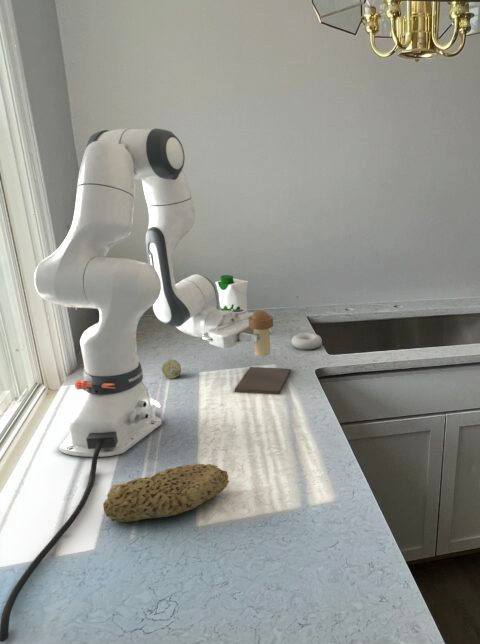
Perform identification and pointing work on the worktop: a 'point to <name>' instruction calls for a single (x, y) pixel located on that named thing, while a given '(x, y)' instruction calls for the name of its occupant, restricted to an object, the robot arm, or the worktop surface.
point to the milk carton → (232, 293)
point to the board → (263, 380)
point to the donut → (306, 341)
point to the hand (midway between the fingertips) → (264, 335)
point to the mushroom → (261, 331)
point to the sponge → (164, 493)
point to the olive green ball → (171, 369)
